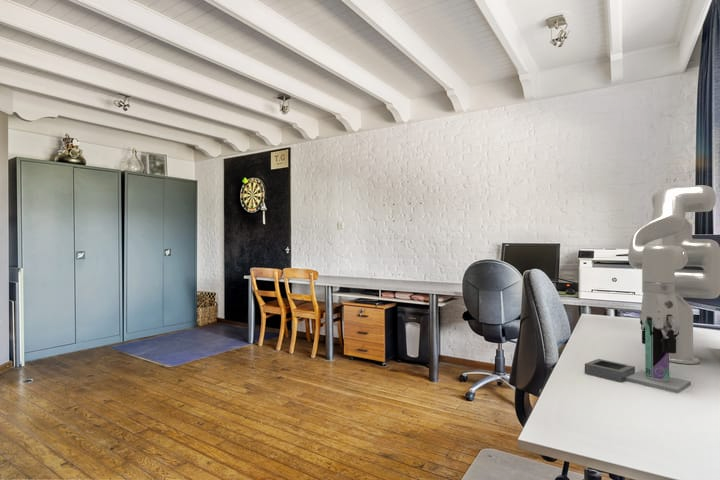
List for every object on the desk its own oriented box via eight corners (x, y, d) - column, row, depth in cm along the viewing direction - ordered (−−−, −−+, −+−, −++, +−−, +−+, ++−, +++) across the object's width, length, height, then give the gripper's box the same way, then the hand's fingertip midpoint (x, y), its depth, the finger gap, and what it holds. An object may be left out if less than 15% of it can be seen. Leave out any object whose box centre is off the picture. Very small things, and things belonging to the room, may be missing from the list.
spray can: (664, 383, 109) (664, 310, 110) (642, 377, 114) (641, 308, 115) (672, 379, 112) (672, 309, 113) (650, 374, 117) (649, 306, 118)
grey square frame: (598, 368, 126) (598, 358, 126) (634, 376, 118) (635, 366, 118) (584, 373, 120) (584, 363, 120) (621, 382, 112) (621, 372, 112)
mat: (641, 373, 121) (641, 370, 121) (690, 384, 112) (690, 381, 112) (625, 380, 114) (625, 377, 114) (677, 393, 105) (677, 389, 105)
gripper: (693, 292, 105) (693, 357, 104) (654, 286, 122) (654, 341, 121) (662, 291, 106) (662, 355, 105) (627, 285, 123) (627, 340, 122)
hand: (658, 348), depth 113 cm, fingers open, 9 cm apart
